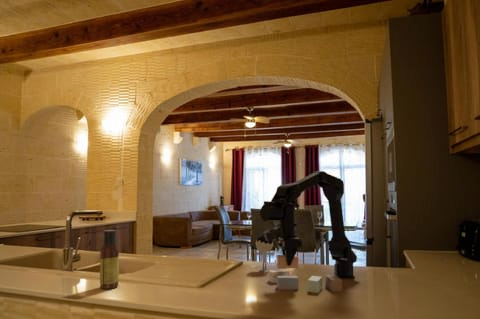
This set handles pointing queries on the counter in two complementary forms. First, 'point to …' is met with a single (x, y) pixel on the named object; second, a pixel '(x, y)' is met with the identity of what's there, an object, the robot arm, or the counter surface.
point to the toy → (264, 248)
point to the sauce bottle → (109, 261)
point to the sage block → (314, 284)
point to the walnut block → (333, 283)
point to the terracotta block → (283, 263)
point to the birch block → (277, 274)
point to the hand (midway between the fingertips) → (287, 264)
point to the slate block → (287, 282)
